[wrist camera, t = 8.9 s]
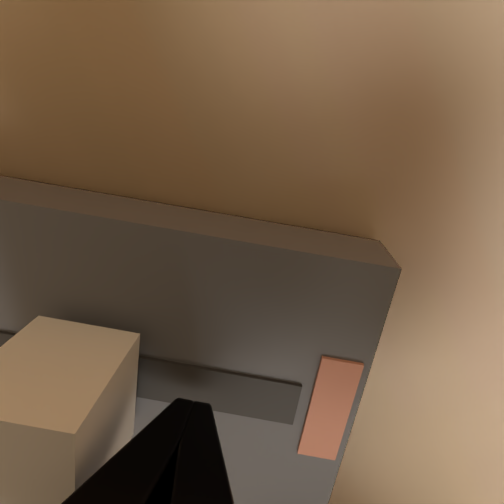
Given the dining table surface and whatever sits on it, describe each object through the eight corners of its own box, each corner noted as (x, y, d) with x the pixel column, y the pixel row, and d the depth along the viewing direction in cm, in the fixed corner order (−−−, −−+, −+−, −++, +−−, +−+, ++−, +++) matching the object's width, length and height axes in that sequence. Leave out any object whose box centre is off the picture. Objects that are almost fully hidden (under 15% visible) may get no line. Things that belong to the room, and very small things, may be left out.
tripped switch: (140, 333, 9) (74, 434, 6) (133, 433, 10) (74, 558, 7) (38, 315, 9) (-74, 407, 6) (42, 417, 10) (-53, 535, 7)
